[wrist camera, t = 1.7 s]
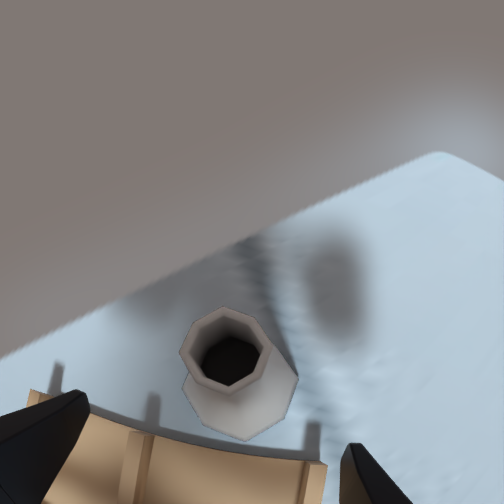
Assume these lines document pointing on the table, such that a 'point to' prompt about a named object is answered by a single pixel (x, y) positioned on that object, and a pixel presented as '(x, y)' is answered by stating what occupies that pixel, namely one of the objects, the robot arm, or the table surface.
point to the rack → (174, 471)
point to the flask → (235, 375)
